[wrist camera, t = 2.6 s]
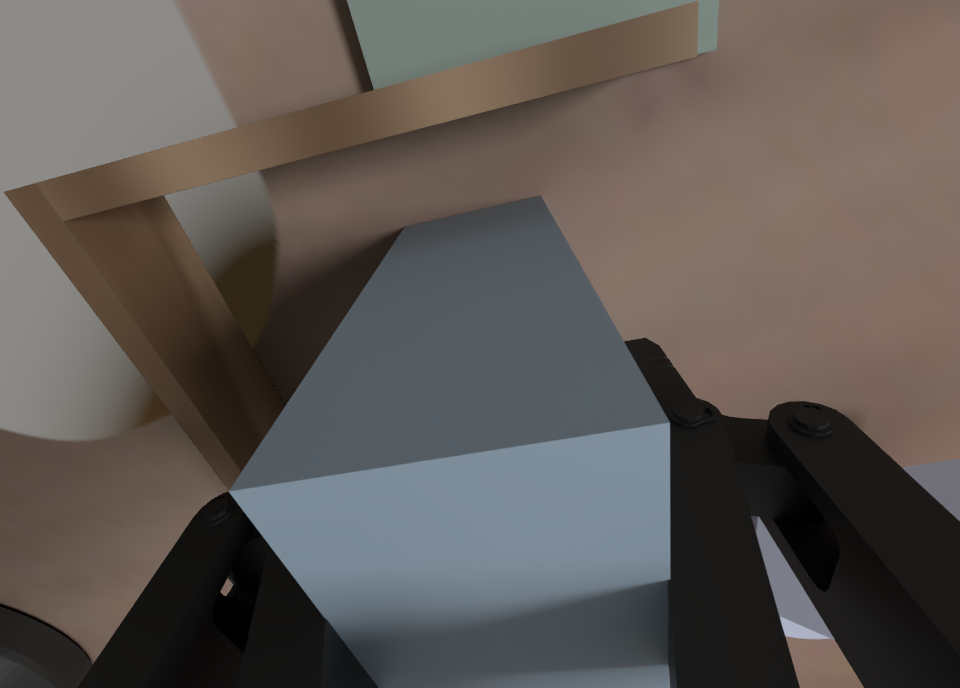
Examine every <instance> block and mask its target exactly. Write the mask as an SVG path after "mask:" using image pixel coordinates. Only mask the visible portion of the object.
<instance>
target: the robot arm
mask: <svg viewBox="0 0 960 688" xmlns="http://www.w3.org/2000/svg"><path fill="white" fill-rule="evenodd" d="M624 343H625V344H626V346H627V348H628V350H629V351H630V353H631V355H632V357H633V359H634V360H635V362H636V364H637V366H638V367H639V369H640V371H641V373H642V374H643V376H644V378H645V380H646V381H647V383H648V385H649V387H650V388H651V390H652V392H653V394H654V395H655V397H656V399H657V401H658V402H659V404H660V406H661V408H662V409H663V411H664V413H665V415H666V416H667V418H668V420H669V422H670V580H668V656H669V677H670V688H800V687H799V683H798V680H797V676H796V673H795V669H794V666H793V662H792V659H791V655H790V651H789V648H788V644H787V641H786V637H785V634H784V630H783V627H782V623H781V620H780V616H779V613H778V609H777V606H776V602H775V599H774V595H773V591H772V588H771V584H770V581H769V577H768V574H767V570H766V567H765V563H764V560H763V556H762V553H761V549H760V546H759V542H758V539H757V535H756V531H755V528H754V524H753V521H752V517H751V516H756V517H760V519H761V521H762V522H763V524H764V525H765V527H766V529H767V530H768V532H769V534H770V535H771V537H772V538H773V540H774V542H775V543H776V545H777V547H778V548H779V550H780V551H781V553H782V555H783V556H784V558H785V560H786V561H787V563H788V565H789V566H790V568H791V569H792V571H793V573H794V574H795V576H796V578H797V579H798V581H799V582H800V584H801V586H802V587H803V589H804V591H805V592H806V594H807V595H808V597H809V599H810V600H811V602H812V604H813V605H814V607H815V608H816V610H817V612H818V613H819V615H820V617H821V618H822V620H823V621H824V623H825V625H826V626H827V628H828V630H829V631H830V633H831V634H832V636H833V638H834V639H835V641H836V643H837V644H838V646H839V647H840V649H841V651H842V652H843V654H844V656H845V657H846V659H847V660H848V662H849V664H850V665H851V667H852V669H853V670H854V672H855V673H856V675H857V677H858V678H859V680H860V682H861V683H862V685H863V686H864V688H960V521H959V520H958V519H957V518H956V517H955V516H954V515H953V514H951V513H950V512H949V511H948V510H947V509H946V508H945V507H944V506H943V505H942V504H941V503H940V502H938V501H937V500H936V499H935V498H934V497H933V496H932V495H931V494H930V493H929V492H928V491H927V490H925V489H924V488H923V487H922V486H921V485H920V484H919V483H918V482H917V481H916V480H915V479H914V478H912V477H911V476H910V475H909V474H908V473H907V472H906V471H905V470H904V469H903V468H902V467H901V466H899V465H898V464H897V463H896V462H895V461H894V460H893V459H892V458H891V457H890V456H889V455H887V454H886V453H885V452H884V451H883V450H882V449H881V448H880V447H879V446H878V445H877V444H876V443H874V442H873V441H872V440H871V439H870V438H869V437H868V436H867V435H866V434H865V433H864V432H863V431H861V430H860V429H859V428H858V427H857V426H856V425H855V424H854V423H853V422H852V421H851V420H850V419H848V418H847V417H846V416H844V415H843V414H841V413H840V412H838V411H837V410H835V409H832V408H829V407H827V406H824V405H821V404H817V403H811V402H805V401H797V402H787V403H783V404H779V405H777V406H776V407H774V408H773V409H772V410H771V411H770V414H769V418H768V420H762V419H746V418H735V417H729V416H725V415H722V414H721V413H720V411H719V410H718V408H716V407H715V406H713V405H712V404H711V403H709V402H707V401H704V400H701V399H698V398H696V397H695V396H694V394H693V393H692V391H691V390H690V389H689V387H688V386H687V384H686V383H685V382H684V380H683V379H682V377H681V376H680V374H679V373H678V372H677V370H676V369H675V367H673V364H672V363H671V362H670V360H669V359H668V358H667V356H666V355H665V353H664V352H663V350H662V349H661V347H660V346H659V345H657V344H655V343H654V342H652V341H650V340H648V339H647V338H642V339H636V340H631V341H625V342H624ZM227 578H228V579H229V580H230V581H231V582H232V583H233V586H232V588H231V590H230V592H229V593H228V594H227V596H226V597H225V596H224V595H223V594H222V593H221V592H220V591H221V589H222V587H223V585H224V583H225V581H226V580H227ZM0 688H378V686H377V685H376V684H375V682H374V681H373V680H372V678H371V677H370V676H369V674H368V673H367V672H366V671H365V669H364V668H363V667H362V665H361V664H360V663H359V661H358V660H357V659H356V657H355V656H354V655H353V653H352V652H351V651H350V649H349V648H348V647H347V645H346V644H345V643H344V641H343V640H342V639H341V637H340V636H339V635H338V633H337V632H336V631H335V630H334V628H333V627H332V626H331V624H330V623H329V622H328V620H327V619H326V618H324V617H323V615H322V614H321V613H320V611H319V610H318V609H317V607H316V606H315V605H314V603H313V602H312V601H311V599H310V598H309V597H308V595H307V594H306V593H305V591H304V590H303V589H302V588H301V586H300V585H299V584H298V582H297V581H296V580H295V578H294V577H293V576H292V574H291V573H290V572H289V570H288V569H287V568H286V566H285V565H284V564H283V563H282V561H281V560H280V559H279V557H278V556H277V555H276V553H275V552H274V551H273V549H272V548H271V547H270V545H269V544H268V543H267V541H266V540H265V539H264V537H263V536H262V535H261V534H260V532H259V531H258V530H257V528H256V527H255V526H254V524H253V523H252V522H251V520H250V519H249V518H248V516H247V515H246V514H245V512H244V511H243V510H242V508H241V507H240V506H239V505H238V503H237V502H236V501H235V499H234V498H233V497H232V495H231V494H230V493H229V492H226V493H223V494H221V495H219V496H218V497H215V498H214V499H212V500H211V501H210V502H208V503H207V504H206V505H205V506H203V507H202V508H201V509H200V510H199V511H198V513H197V514H196V515H195V516H194V517H193V519H192V520H191V522H190V523H189V525H188V526H187V527H186V529H185V530H184V532H183V533H182V535H181V536H180V538H179V539H178V541H177V542H176V544H175V545H174V547H173V548H172V549H171V551H170V552H169V554H168V555H167V557H166V558H165V560H164V561H163V563H162V564H161V566H160V567H159V568H158V570H157V571H156V573H155V574H154V576H153V577H152V579H151V580H150V582H149V583H148V585H147V586H146V588H145V589H144V590H143V592H142V593H141V595H140V596H139V598H138V599H137V601H136V602H135V604H134V605H133V607H132V608H131V610H130V611H129V612H128V614H127V615H126V617H125V618H124V620H123V621H122V623H121V624H120V626H119V627H118V629H117V630H116V631H115V633H114V634H113V636H112V637H111V639H110V640H109V642H108V643H107V645H106V646H105V648H104V649H103V651H102V652H101V653H100V655H99V656H98V658H97V659H96V661H95V662H94V664H93V665H91V662H90V660H89V659H88V657H87V656H86V654H85V653H84V652H83V651H82V650H81V649H80V648H79V647H78V646H77V645H75V644H74V643H73V642H72V641H70V640H69V639H68V638H66V637H65V636H63V635H62V634H60V633H58V632H57V631H55V630H53V629H52V628H50V627H48V626H46V625H44V624H42V623H40V622H38V621H36V620H34V619H31V618H29V617H27V616H24V615H22V614H19V613H17V612H14V611H11V610H9V609H6V608H3V607H0Z"/></svg>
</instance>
